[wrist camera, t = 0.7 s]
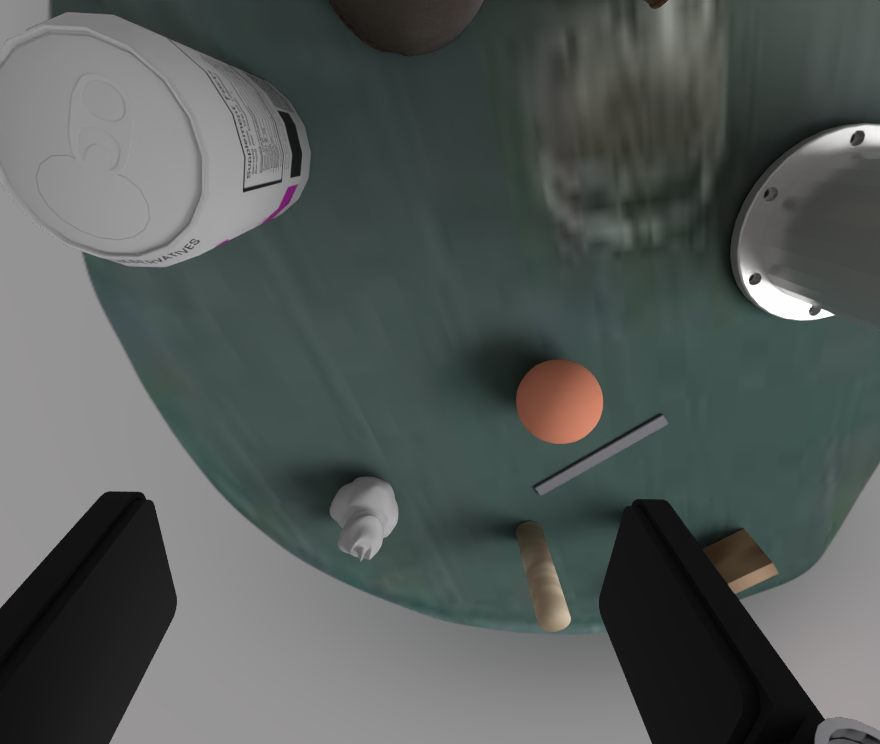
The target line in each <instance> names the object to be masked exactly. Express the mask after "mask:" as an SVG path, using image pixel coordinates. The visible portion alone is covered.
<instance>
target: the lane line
mask: <svg viewBox="0 0 880 744" xmlns="http://www.w3.org/2000/svg"><path fill="white" fill-rule="evenodd" d="M667 424H668V422H667V420H666V419H665V417H664V415H663V414H661V415H660V416H658V417H656V418H654V419H653V420H651V421H649V422H647V423H646V424H644V425H642V426H640V427H639V428H637V429H635V430H633V431H632V432H630V433H628V434H626V435H625V436H623V437H621V438H619V439H618V440H616V441H614V442H612V443H611V444H609V445H607V446H605V447H604V448H602V449H600V450H598V451H597V452H595V453H593V454H591V455H590V456H588V457H586V458H584V459H583V460H581V461H579V462H577V463H576V464H574V465H572V466H570V467H569V468H567V469H565V470H563V471H562V472H560V473H558V474H556V475H555V476H553V477H551V478H549V479H548V480H546V481H544V482H542V483H541V484H539V485H537V486H535V489H536V490H537V491H538V493H539V494H540V495H541V496H542V495H543V494H545V493H547V492H549V491H551V490H552V489H554V488H556V487H558V486H559V485H561V484H563V483H565V482H566V481H568V480H570V479H572V478H574V477H575V476H577V475H579V474H581V473H582V472H584V471H586V470H588V469H589V468H591V467H593V466H595V465H597V464H598V463H600V462H602V461H604V460H605V459H607V458H609V457H611V456H612V455H614V454H616V453H618V452H620V451H621V450H623V449H625V448H627V447H628V446H630V445H632V444H634V443H635V442H637V441H639V440H641V439H642V438H644V437H646V436H648V435H650V434H651V433H653V432H655V431H657V430H658V429H660V428H662V427H664V426H665V425H667Z"/></svg>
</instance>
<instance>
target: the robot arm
mask: <svg viewBox="0 0 880 744" xmlns="http://www.w3.org/2000/svg"><path fill="white" fill-rule="evenodd" d="M730 258H731V265H732V272H733V275H734V278H735V280H736V283H737V286H738V287H739V289H740V290H741V292H742V293H743V294H744V296H745V297H746V298H747V299H748V300H749V301H750V302H751V303H752V304H754V305H755V306H756V307H758V308H760V309H762V310H763V311H765V312H767V313H769V314H771V315H774V316H777V317H780V318H783V319H788V320H796V321H809V320H817V319H821V318H826V317H830V316H834V315H837V316H839V317H842V318H844V319H847V320H849V321H852V322H854V323H857V324H859V325H862V326H864V327H867V328H869V329H872V330H874V331H877V332H879V333H880V124H870V123H861V124H849V125H842V126H838V127H834V128H830V129H826V130H823V131H821V132H819V133H817V134H815V135H812V136H810V137H808V138H806V139H804V140H803V141H801V142H799V143H798V144H796V145H795V146H793V147H792V148H790V149H789V150H787V151H786V152H785V153H784V154H783V155H782V156H780V157H779V158H778V159H777V160H776V161H775V162H774V163H773V164H772V165H770V166H769V168H768V169H767V170H766V171H765V172H764V173H763V175H762V176H761V177H760V178H759V179H758V181H757V182H756V183H755V185H754V186H753V188H752V189H751V191H750V193H749V194H748V196H747V197H746V199H745V201H744V203H743V205H742V207H741V210H740V212H739V214H738V217H737V219H736V222H735V226H734V230H733V234H732V238H731V252H730ZM176 605H177V597H176V593H175V588H174V584H173V580H172V576H171V572H170V568H169V564H168V560H167V555H166V551H165V547H164V543H163V539H162V535H161V531H160V527H159V523H158V518H157V514H156V510H155V506H154V503H153V502H152V501H151V500H146V498H145V496H144V494H143V493H141V492H111V491H110V492H106V493H104V494H103V495H102V496H101V497H100V498H99V499H98V500H97V501H96V502H95V503H94V504H93V505H92V507H91V508H90V509H89V510H88V511H87V512H86V513H85V514H84V516H83V517H82V518H81V519H80V520H79V521H78V522H77V523H76V524H75V526H74V527H73V528H72V529H71V530H70V531H69V532H68V533H67V535H66V536H65V537H64V538H63V539H62V540H61V541H60V543H58V545H57V546H56V547H55V548H54V549H53V550H52V551H51V552H50V553H49V555H48V556H47V557H46V558H45V559H44V560H43V562H41V564H40V565H39V566H38V567H37V568H36V569H35V570H34V571H33V572H32V574H31V575H30V576H29V577H28V578H27V579H26V580H25V581H24V583H23V584H22V585H21V586H20V587H19V588H18V589H17V590H16V592H15V593H14V594H13V595H12V596H11V597H10V598H9V599H8V600H7V601H6V603H5V604H4V605H3V606H2V607H1V608H0V744H109V743H110V741H111V739H112V737H113V735H114V733H115V731H116V729H117V727H118V725H119V723H120V721H121V719H122V717H123V715H124V713H125V711H126V709H127V707H128V705H129V703H130V701H131V700H132V697H133V695H134V694H135V691H136V690H137V688H138V686H139V684H140V682H141V680H142V678H143V676H144V674H145V672H146V670H147V668H148V666H149V664H150V662H151V660H152V658H153V656H154V654H155V652H156V651H157V649H158V647H159V645H160V643H161V641H162V639H163V637H164V634H165V633H166V631H167V629H168V627H169V625H170V623H171V621H172V619H173V617H174V614H175V611H176ZM599 609H600V614H601V617H602V620H603V622H604V625H605V627H606V630H607V632H608V635H609V637H610V640H611V642H612V645H613V647H614V650H615V652H616V654H617V657H618V660H619V662H620V664H621V667H622V669H623V672H624V674H625V677H626V679H627V682H628V685H629V687H630V689H631V692H632V695H633V697H634V700H635V702H636V705H637V707H638V710H639V712H640V715H641V717H642V720H643V722H644V725H645V727H646V730H647V732H648V735H649V737H650V739H651V742H652V744H880V731H878V730H877V729H875V728H873V727H871V726H868V725H866V724H864V723H862V722H859V721H857V720H853V719H848V718H843V717H835V718H828V719H826V720H825V719H824V718H823V717H822V715H821V713H820V712H819V711H818V710H817V708H816V706H815V705H814V704H813V702H812V701H811V700H810V698H809V697H808V695H807V694H806V693H805V691H804V690H803V688H802V687H801V686H800V684H799V683H798V681H797V680H796V679H795V677H794V676H793V674H792V673H791V672H790V670H789V669H788V668H787V666H786V665H785V663H784V662H783V661H782V659H781V658H780V657H779V655H778V654H777V652H776V651H775V649H774V648H773V647H772V645H771V644H770V643H769V641H768V640H767V638H766V637H765V636H764V634H763V633H762V631H761V630H760V629H759V627H758V626H757V624H756V623H755V622H754V620H753V619H752V618H751V616H750V615H749V613H748V612H747V610H746V609H745V608H744V607H743V605H742V604H741V602H740V601H739V599H738V598H737V597H736V595H735V594H734V592H733V591H732V590H731V588H730V587H729V585H728V584H727V583H726V581H725V580H724V578H723V577H722V576H721V575H720V573H719V572H718V570H717V569H716V568H715V566H714V565H713V563H712V562H711V561H710V559H709V558H708V557H707V555H706V554H705V552H704V551H703V550H702V548H701V547H700V545H699V544H698V543H697V541H696V540H695V538H694V537H693V536H692V534H691V533H690V531H689V530H688V529H687V527H686V526H685V525H684V523H683V522H682V520H681V519H680V518H679V516H678V515H677V513H676V512H675V511H674V509H673V508H672V506H671V505H670V504H669V503H668V502H667V501H665V500H656V499H637V500H635V501H634V502H633V503H632V506H628V507H626V508H625V510H624V512H623V516H622V519H621V523H620V526H619V530H618V533H617V537H616V540H615V544H614V548H613V551H612V555H611V558H610V562H609V565H608V569H607V572H606V576H605V579H604V583H603V586H602V590H601V593H600V597H599Z"/></svg>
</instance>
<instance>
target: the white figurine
mask: <svg viewBox="0 0 880 744" xmlns="http://www.w3.org/2000/svg"><path fill="white" fill-rule="evenodd" d="M330 515H331V517H332V518H333V519H334V520H336V521H337V522H338V524H339V525H340V526H341V527H342V531H341V535H340V538H339V541H338V547H339V549H340V550H342V551H343V552H345V553H349V554H351V555H353V556H355V557H359V559H360V561H362V559H363V558H365V559H368V560H370V559H371V558H372V557H373V556H374V555H375V554H376V553H377V552H378V550H379V549H380V547H381V545H382V541H383V538H385V537H387V536H388V535H389V534H390V533H391V532H392V530H393V529H394V527H395V525H396V524H397V521H398V505H397V502H396V500H395V496H394V491H393V489H392V487H391V486H390V484H389V483H387V482H385V481H383V480H381V479H378V478H375V477H359V478H356V479H355V480H354V481H353V482H351V483H348V484H346V485H344V486H343V487H342V488H340V490H339V491H338V492H337V494H336V496H335V498H334V499H333V501H332V504H331V506H330Z"/></svg>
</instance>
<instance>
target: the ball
mask: <svg viewBox="0 0 880 744" xmlns="http://www.w3.org/2000/svg"><path fill="white" fill-rule="evenodd" d="M516 406H517V411H518V415H519V417H520V419H521V421H522V423H523V425H524V426H525V427H526V428H527V429H528V431H529V432H530V433H532V434H533V435H534V436H536V437H537V438H539V439H541V440H543V441H546V442H549V443H555V444H565V443H571V442H574V441H577V440H579V439H581V438H583V437H584V436H586V435H587V434H588V433H590V432H591V431H592V430H593V428H594V427H595V426H596V424H597V423H598V421H599V419H600V416H601V413H602V409H603V396H602V391H601V388H600V385H599V383H598V382H597V380H596V378H595V377H594V376H593V374H592V373H591V372H590V371H589V370H587V369H586V368H585V367H583V366H582V365H580V364H578V363H576V362H573V361H569V360H563V359H554V360H549V361H545V362H542V363H540V364H538V365H536V366H535V367H533V368H532V369H531V370H530V371H529V372H528V373H527V374H526V375H525V376H524V377H523V379H522V380H521V383H520V385H519V387H518V390H517V395H516Z"/></svg>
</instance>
